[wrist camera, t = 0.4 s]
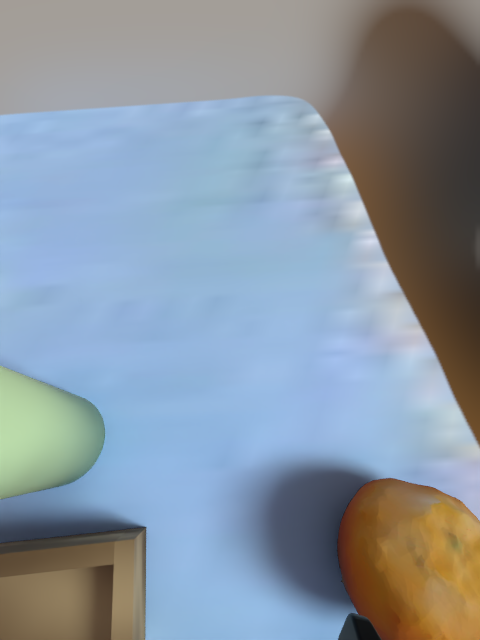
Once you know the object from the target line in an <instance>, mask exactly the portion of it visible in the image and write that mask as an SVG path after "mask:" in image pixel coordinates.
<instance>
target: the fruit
mask: <svg viewBox="0 0 480 640" xmlns="http://www.w3.org/2000/svg"><path fill="white" fill-rule="evenodd" d="M337 552H338V559H339V566H340V569H341V574H342V581H341V582H343V583H344V586H345V589H346V591H347V593H348V595H349V597H350V599H351V601H352V603H353V604H354V606H355V608H356V610H357V612H358V614H359V615H362V616H365V617H367V618H368V619H369V620H370V621H371V623H372V624H373V626H374V628H375V629H376V631H377V633H378V634H379V636H380V638H381V639H382V640H480V521H479V520H478V519H477V517H476V516H475V515H474V514H473V513H472V512H471V511H470V510H469V509H468V508H467V507H466V506H465V505H464V504H463V502H461V501H460V500H458V499H457V498H454V497H451V496H449V495H447V494H445V493H443V492H441V491H439V490H437V489H436V488H433V487H429V486H423V485H417V484H412V483H408V482H405V481H401V480H397V479H393V478H386V479H379V480H373V481H371V482H369V483H367V484H365V485H364V486H363V487H361V488H360V489H359V490H358V492H357V493H356V494H355V496H354V497H353V499H352V500H351V501H350V503H349V504H348V506H347V508H346V510H345V512H344V515H343V517H342V520H341V524H340V528H339V535H338V542H337Z"/></svg>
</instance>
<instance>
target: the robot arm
mask: <svg viewBox="0 0 480 640" xmlns="http://www.w3.org/2000/svg"><path fill="white" fill-rule="evenodd" d="M338 640H382V639H381V638H380V636H379V634H378V633H377V631H376V629H375V628H374V626H373V624H372V623H371V621H370V620H369V619H368V618H367V617H365V616H362V615H358V614H354V613H350V614H349V615H348V616H347V618H346V621H345V623H344V625H343V628H342V630H341V633H340V635H339V638H338Z"/></svg>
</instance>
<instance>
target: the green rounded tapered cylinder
mask: <svg viewBox="0 0 480 640" xmlns="http://www.w3.org/2000/svg"><path fill="white" fill-rule="evenodd" d="M104 439H105V427H104V422H103V418H102V416H101V414H100V412H99V411H98V409H97V408H96V407H95V406H94V405H93V404H92V403H91V402H89V401H88V400H86V399H84V398H82V397H79V396H77V395H74V394H71V393H69V392H66V391H64V390H61V389H59V388H56V387H53V386H51V385H48V384H46V383H43V382H41V381H38V380H35V379H33V378H30V377H28V376H25V375H23V374H20V373H17V372H15V371H12V370H10V369H7V368H5V367H2V366H0V499H4V498H9V497H13V496H18V495H22V494H27V493H31V492H36V491H41V490H45V489H50V488H54V487H59V486H63V485H66V484H69V483H71V482H74V481H76V480H77V479H79V478H80V477H82V476H83V475H84V474H86V473H87V472H88V471H89V470H90V469H91V467H92V466H93V465H94V464H95V462H96V461H97V459H98V457H99V455H100V453H101V451H102V448H103V444H104Z"/></svg>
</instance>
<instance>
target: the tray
mask: <svg viewBox="0 0 480 640" xmlns="http://www.w3.org/2000/svg"><path fill="white" fill-rule="evenodd" d="M145 601H146V527H144V528H134V529H125V530H116V531H107V532H98V533H89V534H79V535H70V536H61V537H52V538H43V539H34V540H24V541H15V542H6V543H0V640H145Z"/></svg>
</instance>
